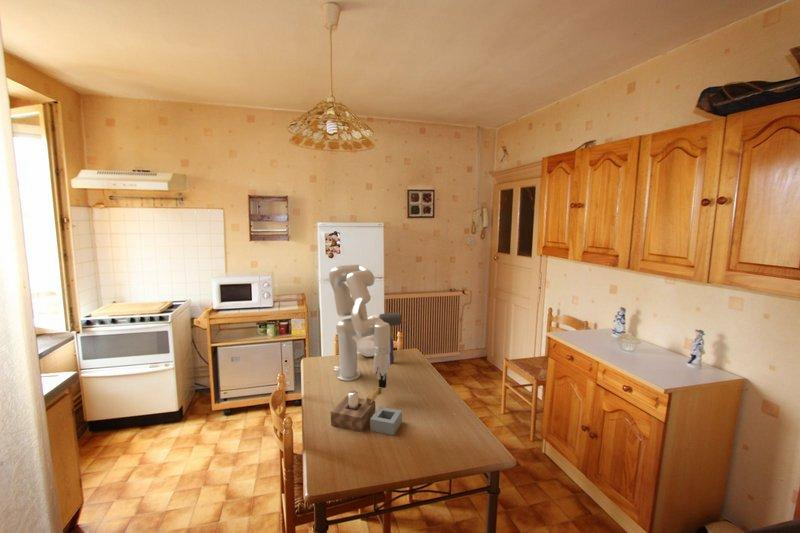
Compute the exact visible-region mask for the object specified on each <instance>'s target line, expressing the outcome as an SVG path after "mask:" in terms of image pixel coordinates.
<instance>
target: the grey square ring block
mask: <svg viewBox="0 0 800 533" xmlns="http://www.w3.org/2000/svg"><path fill="white" fill-rule="evenodd" d="M375 411H376V412H375V414H374V415H373V416H372V417H371V419H370V422H369V426H370V429H369V430H370V431H371V432H376V433H381V434H384V435H390V436H395V434H396V432H398V431H397V430H398V429H399V427H400V426H401V424H402V423H403V410H400V409H395V408H389V407H383V406H379V407H378V408H377V410H375Z"/></svg>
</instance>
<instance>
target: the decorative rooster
mask: <svg viewBox="0 0 800 533" xmlns="http://www.w3.org/2000/svg"><path fill="white" fill-rule="evenodd" d="M367 317H368V319H374V318H379V315H374V314H373V315H370V316H367ZM352 338H353V339H354V340H355V342H356V344H357V353H358V354H360V355H362V356H364V357H366V358H370V357H374V354H375V353H374V335H371V336H367V337H359V336H358V335H355V336H353V337H352Z"/></svg>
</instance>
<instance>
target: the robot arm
mask: <svg viewBox="0 0 800 533" xmlns="http://www.w3.org/2000/svg"><path fill="white" fill-rule="evenodd" d="M328 278H329V284H330V286H331V288H332V291H333V295H334V301H335V302H334V303H335V308H336V313H337V315H338V316H339V317H341V318H342V317H345V319H341V320H339V321H338V322H337V323H336V328H335V329H336V335H337V340H338V341H337V342H338V358H339V359H338V361H339V364H338V365H339V366H338V365H334V366H333V372H337V374H336V378H337V379H338V380H340V381H343V382H345V381H346V382H347V381H348V382H349V381H355V380H357V379H359V378H360V377H361V371H359V370H358V351H357V344H356V342H355V340H354V339H353V338H352V337H353V336H355V335H358V336H359V337H367V336H371V335H374V353H375V354H374V356H373V366H372V374H373V376H376V380H378V388H382V389H386V387H387V376H388V371H389V370H390V367H391V363H390V325H389V324H388V323H386V322H384V321H383V320H382V319H380V318H374V319H368V317H369V316H368V311H367V306H366V305H367V304H368V303H369V302H370V301H371V298H372V296H371V294H370V291H369V289H368V287H371V286H374V284H375V275H374V274H373V272H372V271H371V269H368V268H366V267H364V266H362V264H361V265H360V264H348V265H338V266H334V267H332V268H331V269H330V271H329V272H328ZM345 282H346V283H345ZM346 317H349V318H346Z"/></svg>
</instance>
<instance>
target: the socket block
mask: <svg viewBox="0 0 800 533" xmlns="http://www.w3.org/2000/svg"><path fill="white" fill-rule="evenodd" d="M376 411H377V410H376V400H374V401H373V403H372V404H367V398H366V399H365V398H360V397H358V410H357V411H355V410H350V409H349V396H348V395H346V396H345V397H344V398H343V399H342V400H341V401H340V402H339V403H338V404H337V405H336V406H335V407H334V408H333V409H332V410H330V425H331V426H333V427H336V428H337V427H339V428H342V429H348V430H352V431H357V432H363V430H365V428H366V427H367V425H368V424H370V419H371V417H372V416H373V415H374V414H375V412H376Z"/></svg>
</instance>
